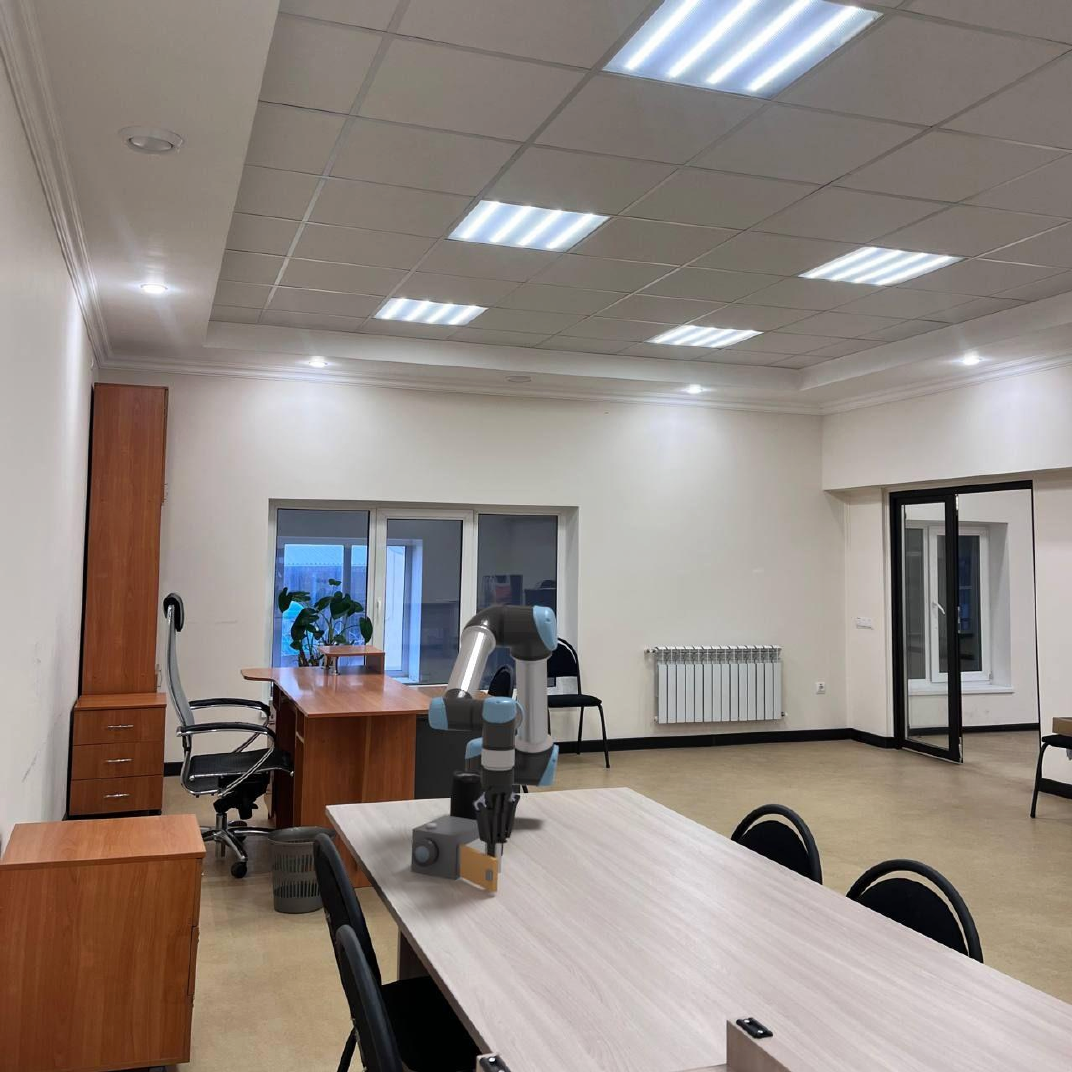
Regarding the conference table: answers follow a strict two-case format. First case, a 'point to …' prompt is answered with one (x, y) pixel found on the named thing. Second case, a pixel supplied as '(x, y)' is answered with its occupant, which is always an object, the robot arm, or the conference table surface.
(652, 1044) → the conference table surface
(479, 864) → the side door
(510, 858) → the conference table surface
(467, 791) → the portable speaker
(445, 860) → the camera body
